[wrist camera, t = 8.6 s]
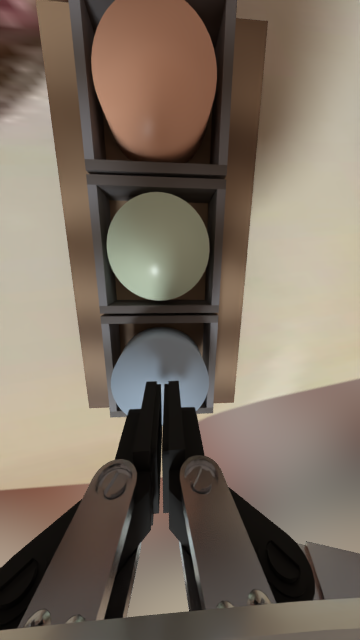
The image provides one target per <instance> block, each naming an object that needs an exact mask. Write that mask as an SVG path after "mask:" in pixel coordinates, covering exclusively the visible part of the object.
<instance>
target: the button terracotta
mask: <svg viewBox="0 0 360 640" xmlns="http://www.w3.org/2000/svg"><path fill="white" fill-rule="evenodd" d="M91 64H92V76H93V82H94V86H95V90H96V93H97V96H98V99H99V102H100V104H101V107H102V109H103V111H104V114H105V116H106V119H107V121H108V124H109V126H110V129H111V131H112V134H113V136H114V138H115V140H116V142H117V144H118V146H119V147H120V149H121V150H122V151H123V153H124V154H125V155H126V156H127V157H128V158H129V159H130V160H131V161H145V162H168V163H186V162H187V161H188V160H189V159H190V158H191V157H192V156H193V155H194V154H195V152H196V151H197V149H198V148H199V146H200V144H201V141H202V139H203V136H204V133H205V129H206V126H207V122H208V118H209V115H210V111H211V108H212V104H213V100H214V96H215V91H216V83H217V65H216V57H215V52H214V47H213V44H212V41H211V38H210V35H209V33H208V31H207V29H206V27H205V25H204V23H203V21H202V20H201V18H200V17H199V15H198V14H197V13H196V11H195V10H194V9H193V8H192V7H191V6H190V5H189V4H188V3H187V2H186V1H185V0H115V1H114V2H113V3H112V4H111V5H110V6H109V7H108V9H107V10H106V11H105V13H104V15H103V16H102V18H101V20H100V22H99V24H98V27H97V30H96V33H95V36H94V40H93V46H92V56H91Z"/></svg>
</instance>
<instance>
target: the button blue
mask: <svg viewBox="0 0 360 640" xmlns="http://www.w3.org/2000/svg"><path fill="white" fill-rule="evenodd" d="M148 381H157V384H161V403H162V426H163V408H164V384H168V381H179V389H180V400H181V407H195V410H196V411H197V410H198V409H199V407H200V406H201V405H202V403H203V402H204V400H205V398H206V395H207V392H208V388H209V376H208V371H207V368H206V366H205V363H204V361H203V358H202V356H201V353H200V351H199V349H198V347H197V345H196V344H195V342H194V341H193V340H192V339H191V338H190V337H189V336H188V335H186V334H185V333H183V332H181V331H179V330H177V329H173V328H169V327H154V328H150V329H147V330H144V331H142V332H140V333H138V334H137V335H135V336H134V337H133V338H132V339H131V340H130V341H129V342H128V343H127V345H126V346H125V348H124V350H123V352H122V354H121V355H120V357H119V359H118V361H117V363H116V365H115V367H114V369H113V372H112V376H111V390H112V394H113V397H114V400H115V402H116V403H117V405H118V406H119V408H120V409H121V410H122V411H123V412H124V413H125V414H126V415H127V414H128V411H129V409H141V406H142V401H143V396H144V391H145V386H146V382H148Z"/></svg>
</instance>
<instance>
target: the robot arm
mask: <svg viewBox="0 0 360 640" xmlns="http://www.w3.org/2000/svg"><path fill="white" fill-rule="evenodd" d="M161 446H162V470H163V513H169V529H170V530H171V532H172V533H173V534H174V535H175V536H176V538H177V539H178V540H179V547H180V553H181V560H182V567H183V573H184V580H185V586H186V593H187V600H188V607H189V612H178V613H168V614H157V615H147V616H137V617H128V618H127V613H128V608H129V603H130V599H131V594H132V589H133V584H134V579H135V574H136V569H137V564H138V560H139V555H140V550H141V542H142V540H143V539H144V538H145V536H146V535H147V534H148V533H149V532H150V530H151V525H153V514H156V513H159V499H160V472H161ZM0 640H360V554H359V553H354V552H351V551H346V550H342V549H338V548H333V547H329V546H325V545H320V544H316V543H312V542H307V541H306V544H305V545H302V544H298V543H296V542H295V541H294V540H293V539H292V538H291V537H290V536H289V535H288V534H286V533H285V532H284V531H283V530H281V529H280V528H279V527H278V526H276V525H275V524H274V523H273V522H271V521H270V520H269V519H268V518H266V517H265V516H264V515H263V514H261V513H260V512H259V511H258V510H256V509H255V508H254V507H252V506H251V505H250V504H249V503H248V502H247V501H245V500H244V499H243V498H242V497H240V496H239V495H238V494H237V493H235V492H234V491H233V490H232V489H230V488H229V487H228V485H227V483H226V481H225V478H224V476H223V473H222V471H221V469H220V468H219V466H218V464H217V463H216V462H215V461H214V460H212V459H210V458H209V457H206V456H204V451H203V445H202V440H201V435H200V430H199V425H198V420H197V415H196V410H195V407H181V400H180V389H179V381H168V384H164V408H163V437H162V403H161V384H157V381H148V382H146V386H145V391H144V396H143V401H142V406H141V409H129V411H128V414H127V418H126V422H125V425H124V429H123V432H122V436H121V440H120V443H119V447H118V450H117V454H116V457H115V460H113V461H110V462H108V463H107V464H105V465H103V466H102V467H101V468H100V469H99V470H98V471H97V473H96V474H95V476H94V477H93V479H92V481H91V483H90V485H89V487H88V489H87V491H86V493H85V495H84V497H83V499H81V500H80V501H79V502H78V503H77V504H75V505H74V506H73V507H72V508H71V509H69V510H68V511H67V512H66V513H65V514H63V515H62V516H61V517H60V518H59V519H57V520H56V521H55V522H54V523H53V524H51V525H50V526H49V527H48V528H47V529H45V530H44V531H43V532H42V533H40V534H39V535H38V536H37V537H36V538H34V539H33V540H32V541H31V542H30V543H29V544H27V545H26V546H25V547H24V548H22V549H21V550H20V551H19V552H18V553H17V554H15V555H14V556H13V557H12V558H11V559H10V560H9V561H8V562H7V563H6V564H5V565H4V566H3V567H1V568H0Z"/></svg>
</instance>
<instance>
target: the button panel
mask: <svg viewBox="0 0 360 640" xmlns="http://www.w3.org/2000/svg"><path fill="white" fill-rule="evenodd" d="M114 1H115V0H69V3H67V2H57V1H46V0H36V6H37V14H38V21H39V29H40V37H41V44H42V52H43V59H44V67H45V75H46V82H47V90H48V97H49V105H50V113H51V120H52V128H53V135H54V143H55V151H56V158H57V166H58V173H59V181H60V189H61V196H62V204H63V211H64V219H65V226H66V234H67V242H68V249H69V257H70V264H71V272H72V280H73V287H74V295H75V302H76V310H77V318H78V325H79V333H80V340H81V348H82V356H83V363H84V371H85V378H86V386H87V394H88V401H89V408H106V407H110V417H127V415H126V414H125V413H124V412H123V411H122V410H121V409H120V408H119V406H118V405H117V403H116V402H115V400H114V397H113V394H112V390H111V376H112V372H113V369H114V367H115V365H116V363H117V361H118V359H119V357H120V355H121V354H122V352H123V350H124V348H125V346H126V345H127V343H128V342H129V341H130V340H131V339H132V338H133V337H134V336H135V335H137V334H138V333H140V332H142V331H144V330H147V329H150V328H154V327H169V328H173V329H177V330H179V331H181V332H183V333H185V334H186V335H188V336H189V337H190V338H191V339H192V340H193V341H194V342H195V344H196V345H197V347H198V349H199V351H200V353H201V356H202V358H203V361H204V363H205V366H206V368H207V371H208V376H209V388H208V392H207V395H206V398H205V400H204V402H203V403H202V405H201V406H200V407H199V409H198V410H197V411H196V414H200V413H213V403H234V394H235V382H236V371H237V360H238V349H239V338H240V327H241V315H242V304H243V293H244V282H245V271H246V260H247V248H248V237H249V226H250V215H251V204H252V192H253V181H254V170H255V159H256V148H257V137H258V125H259V114H260V103H261V92H262V81H263V70H264V58H265V47H266V36H267V25H268V21H260V20H249V19H238V18H236V8H237V0H185V1H186V2H187V3H188V4H189V5H190V6H191V7H192V8H193V9H194V10H195V11H196V13H197V14H198V15H199V17H200V18H201V20H202V21H203V23H204V25H205V27H206V29H207V31H208V33H209V35H210V38H211V41H212V44H213V47H214V52H215V57H216V65H217V83H216V91H215V96H214V100H213V104H212V108H211V111H210V115H209V118H208V122H207V126H206V129H205V133H204V136H203V139H202V141H201V144H200V146H199V148H198V149H197V151H196V152H195V154H194V155H193V156H192V157H191V158H190V159H189V160H188V161H187V162H186V163H168V162H145V161H131V160H130V159H129V158H128V157H127V156H126V155H125V154H124V153H123V151H122V150H121V149H120V147H119V146H118V144H117V142H116V140H115V138H114V136H113V134H112V131H111V129H110V126H109V124H108V121H107V119H106V116H105V114H104V111H103V109H102V107H101V104H100V102H99V99H98V96H97V93H96V90H95V86H94V82H93V76H92V64H91V56H92V46H93V40H94V36H95V33H96V30H97V27H98V24H99V22H100V20H101V18H102V16H103V15H104V13H105V11H106V10H107V9H108V7H109V6H110V5H111V4H112V3H113V2H114ZM149 192H163V193H168V194H172V195H174V196H177V197H179V198H181V199H183V200H184V201H186V202H187V203H188V204H190V205H191V206H192V207H193V208H194V209H195V210H196V212H197V213H198V214H199V216H200V217H201V219H202V221H203V222H204V225H205V227H206V230H207V233H208V237H209V249H210V251H209V259H208V263H207V266H206V269H205V271H204V273H203V275H202V277H201V278H200V280H199V281H198V283H197V284H196V285H195V286H194V287H193V288H192V289H191V290H189V291H188V292H187V293H185V294H183V295H181V296H179V297H177V298H174V299H170V300H162V301H158V300H150V299H146V298H143V297H140V296H138V295H136V294H134V293H133V292H131V291H130V290H128V289H127V288H126V287H125V286H124V285H123V284H122V283H121V282H120V281H119V279H118V278H117V277H116V275H115V273H114V272H113V270H112V267H111V265H110V262H109V259H108V254H107V234H108V230H109V227H110V224H111V222H112V220H113V218H114V216H115V214H116V213H117V212H118V210H119V209H120V208H121V207H122V206H123V205H124V204H125V203H126V202H128V201H129V200H130V199H132V198H134V197H136V196H138V195H141V194H144V193H149Z"/></svg>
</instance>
